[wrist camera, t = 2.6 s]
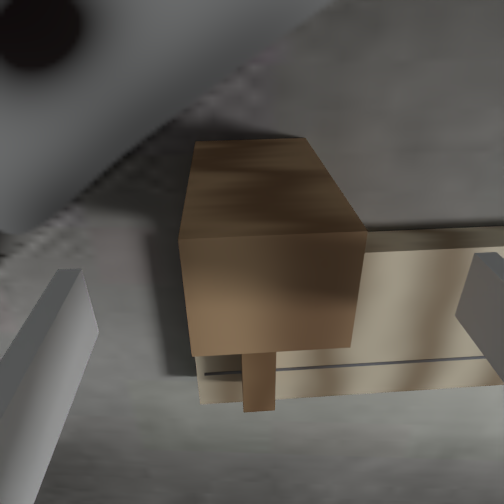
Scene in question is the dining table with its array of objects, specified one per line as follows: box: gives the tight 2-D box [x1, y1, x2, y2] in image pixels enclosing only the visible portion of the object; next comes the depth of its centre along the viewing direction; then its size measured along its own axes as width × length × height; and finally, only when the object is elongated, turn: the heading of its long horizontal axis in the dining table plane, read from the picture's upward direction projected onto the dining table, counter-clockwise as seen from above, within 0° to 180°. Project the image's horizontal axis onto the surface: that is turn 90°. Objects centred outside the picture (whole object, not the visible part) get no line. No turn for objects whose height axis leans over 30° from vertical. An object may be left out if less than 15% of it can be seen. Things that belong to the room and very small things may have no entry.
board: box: [195, 226, 504, 404], centre depth 28 cm, size 30×12×2 cm, turn 91°
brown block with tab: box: [178, 138, 368, 412], centre depth 22 cm, size 6×16×11 cm, turn 1°
